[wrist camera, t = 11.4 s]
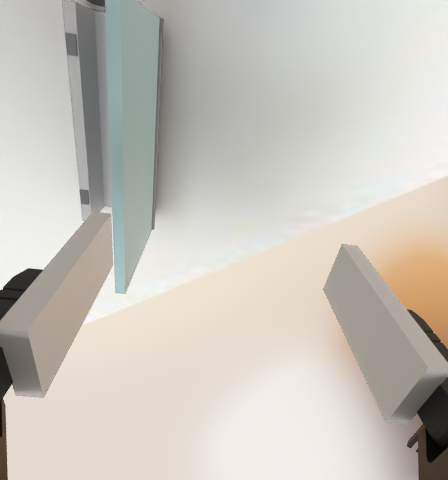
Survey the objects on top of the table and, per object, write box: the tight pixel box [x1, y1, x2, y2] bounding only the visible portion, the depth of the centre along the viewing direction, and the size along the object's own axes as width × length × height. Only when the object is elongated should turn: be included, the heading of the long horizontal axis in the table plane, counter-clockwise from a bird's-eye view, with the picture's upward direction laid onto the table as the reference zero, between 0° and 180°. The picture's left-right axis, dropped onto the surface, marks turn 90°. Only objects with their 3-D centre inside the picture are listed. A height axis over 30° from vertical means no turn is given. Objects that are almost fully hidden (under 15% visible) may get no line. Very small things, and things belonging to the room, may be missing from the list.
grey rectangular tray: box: [62, 0, 112, 221], centre depth 31 cm, size 20×7×5 cm, turn 171°
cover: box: [105, 0, 163, 294], centre depth 25 cm, size 20×12×1 cm
